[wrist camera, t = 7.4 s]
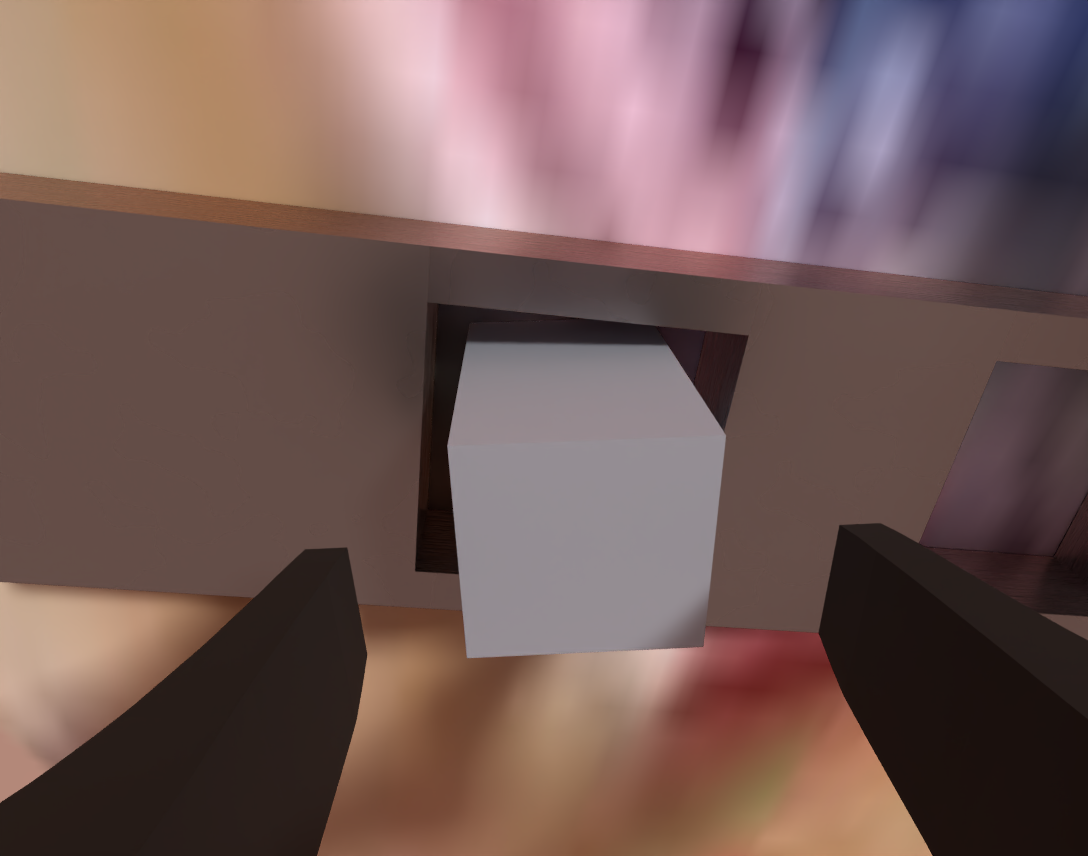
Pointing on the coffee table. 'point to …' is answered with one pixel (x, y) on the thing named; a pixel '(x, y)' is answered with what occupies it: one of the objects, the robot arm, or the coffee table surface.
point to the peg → (581, 490)
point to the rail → (408, 388)
